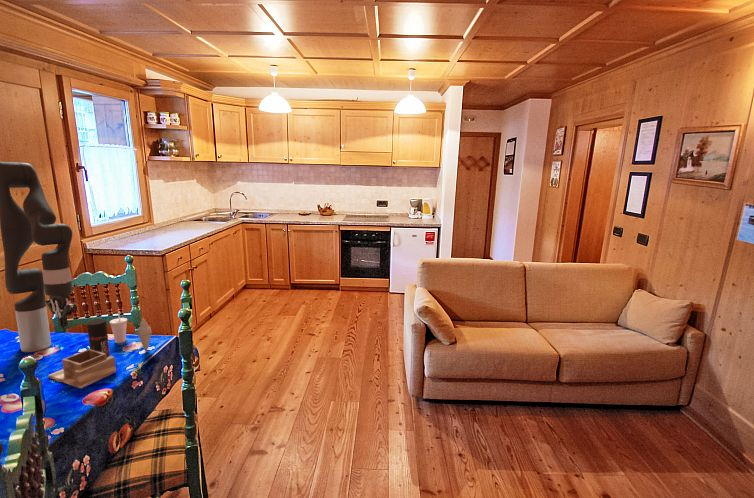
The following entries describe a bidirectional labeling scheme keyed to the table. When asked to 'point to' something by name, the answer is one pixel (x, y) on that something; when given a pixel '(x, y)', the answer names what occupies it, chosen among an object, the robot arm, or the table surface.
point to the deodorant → (98, 336)
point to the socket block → (80, 361)
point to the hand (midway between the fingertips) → (63, 326)
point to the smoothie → (119, 328)
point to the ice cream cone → (144, 333)
